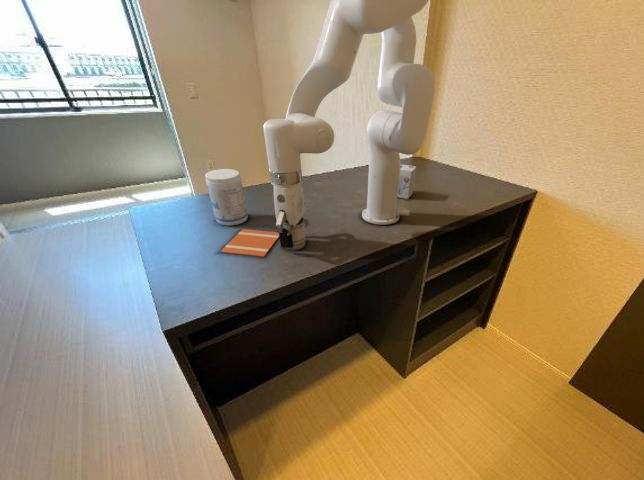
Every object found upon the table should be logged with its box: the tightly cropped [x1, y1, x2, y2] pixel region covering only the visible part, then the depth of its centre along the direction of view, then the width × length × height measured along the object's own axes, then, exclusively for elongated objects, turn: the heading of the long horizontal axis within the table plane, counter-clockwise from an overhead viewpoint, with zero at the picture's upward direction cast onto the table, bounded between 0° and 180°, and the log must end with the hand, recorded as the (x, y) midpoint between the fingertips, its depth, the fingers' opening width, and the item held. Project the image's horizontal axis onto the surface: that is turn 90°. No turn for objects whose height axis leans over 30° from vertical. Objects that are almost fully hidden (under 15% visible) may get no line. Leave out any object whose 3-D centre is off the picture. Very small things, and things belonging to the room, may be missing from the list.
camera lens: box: [283, 217, 307, 251], centre depth 81 cm, size 6×6×8 cm
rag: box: [220, 228, 280, 258], centre depth 84 cm, size 12×13×1 cm
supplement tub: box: [204, 168, 249, 227], centre depth 90 cm, size 10×10×15 cm
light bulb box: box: [397, 163, 417, 200], centre depth 114 cm, size 11×7×11 cm, turn 68°
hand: (293, 238), depth 82 cm, fingers open, 9 cm apart
